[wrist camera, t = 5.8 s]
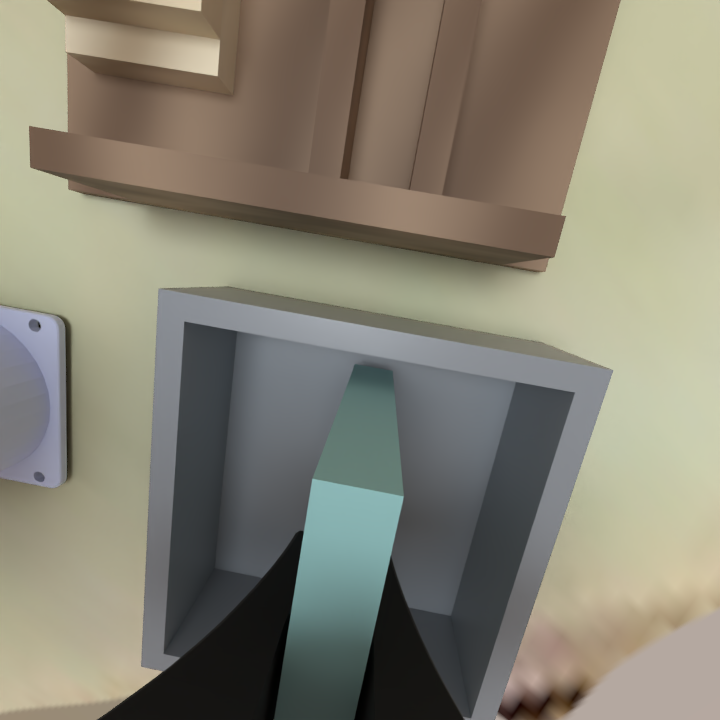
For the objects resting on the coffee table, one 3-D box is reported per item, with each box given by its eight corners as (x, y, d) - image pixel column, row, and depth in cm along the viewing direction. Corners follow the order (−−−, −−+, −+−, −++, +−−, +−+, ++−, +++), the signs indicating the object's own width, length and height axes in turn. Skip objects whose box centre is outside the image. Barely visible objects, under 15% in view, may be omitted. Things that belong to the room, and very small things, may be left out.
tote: (201, 570, 18) (141, 666, 13) (226, 286, 15) (158, 288, 10) (461, 623, 17) (487, 739, 13) (542, 342, 14) (613, 370, 10)
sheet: (315, 589, 15) (244, 903, 8) (355, 363, 13) (312, 479, 5) (348, 595, 15) (309, 917, 8) (392, 370, 13) (404, 496, 5)
